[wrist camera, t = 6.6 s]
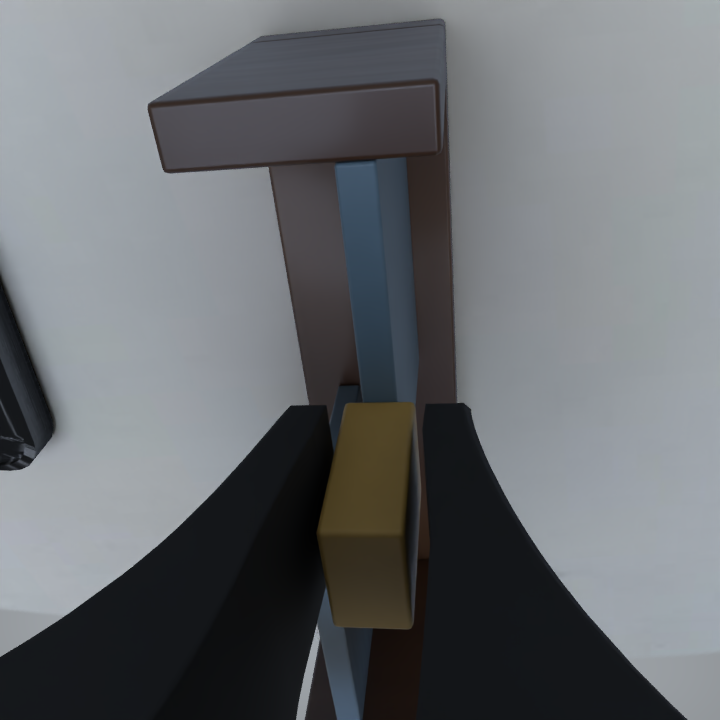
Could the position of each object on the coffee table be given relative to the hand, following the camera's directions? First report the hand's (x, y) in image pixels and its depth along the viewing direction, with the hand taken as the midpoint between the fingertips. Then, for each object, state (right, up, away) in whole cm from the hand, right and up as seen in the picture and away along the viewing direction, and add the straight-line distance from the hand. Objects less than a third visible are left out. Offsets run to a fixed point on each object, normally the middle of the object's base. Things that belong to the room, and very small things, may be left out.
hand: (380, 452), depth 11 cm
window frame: (0, +2, +7) cm, 7 cm away
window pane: (+1, +4, +4) cm, 6 cm away
